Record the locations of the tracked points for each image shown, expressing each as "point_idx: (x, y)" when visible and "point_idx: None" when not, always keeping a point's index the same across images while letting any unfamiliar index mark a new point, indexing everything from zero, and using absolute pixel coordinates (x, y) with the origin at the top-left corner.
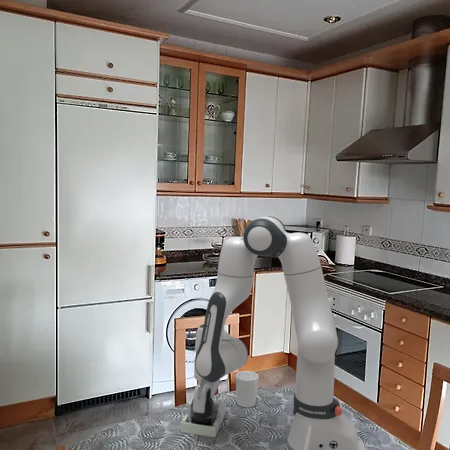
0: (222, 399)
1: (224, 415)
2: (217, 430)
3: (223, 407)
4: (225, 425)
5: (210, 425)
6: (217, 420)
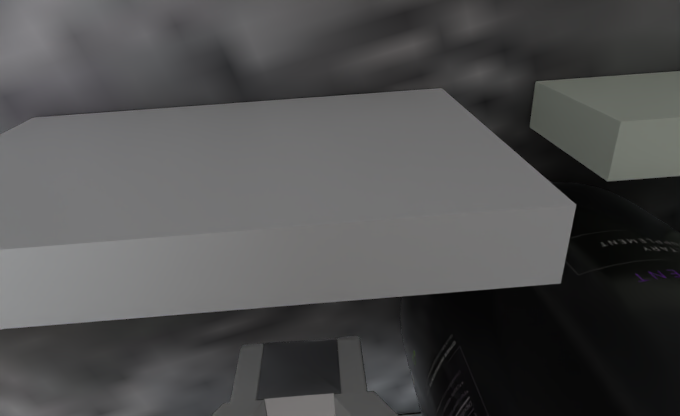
0: (5, 319)
1: (142, 110)
2: (650, 79)
3: (217, 175)
4: (417, 8)
5: (635, 209)
6: (655, 144)
